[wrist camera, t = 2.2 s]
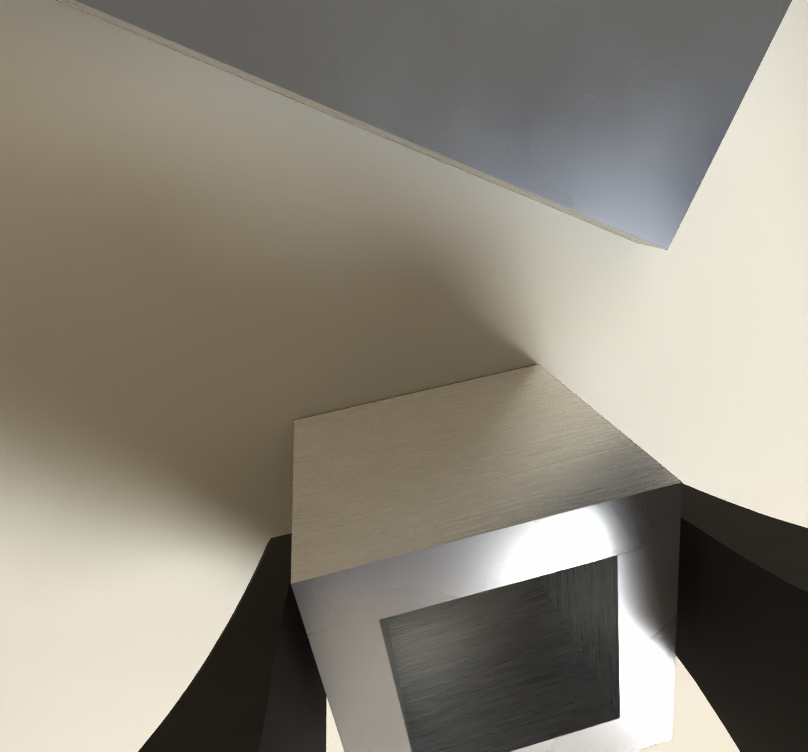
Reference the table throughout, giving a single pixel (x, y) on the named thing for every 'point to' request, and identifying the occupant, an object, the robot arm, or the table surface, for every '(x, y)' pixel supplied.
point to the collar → (487, 571)
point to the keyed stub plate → (504, 84)
